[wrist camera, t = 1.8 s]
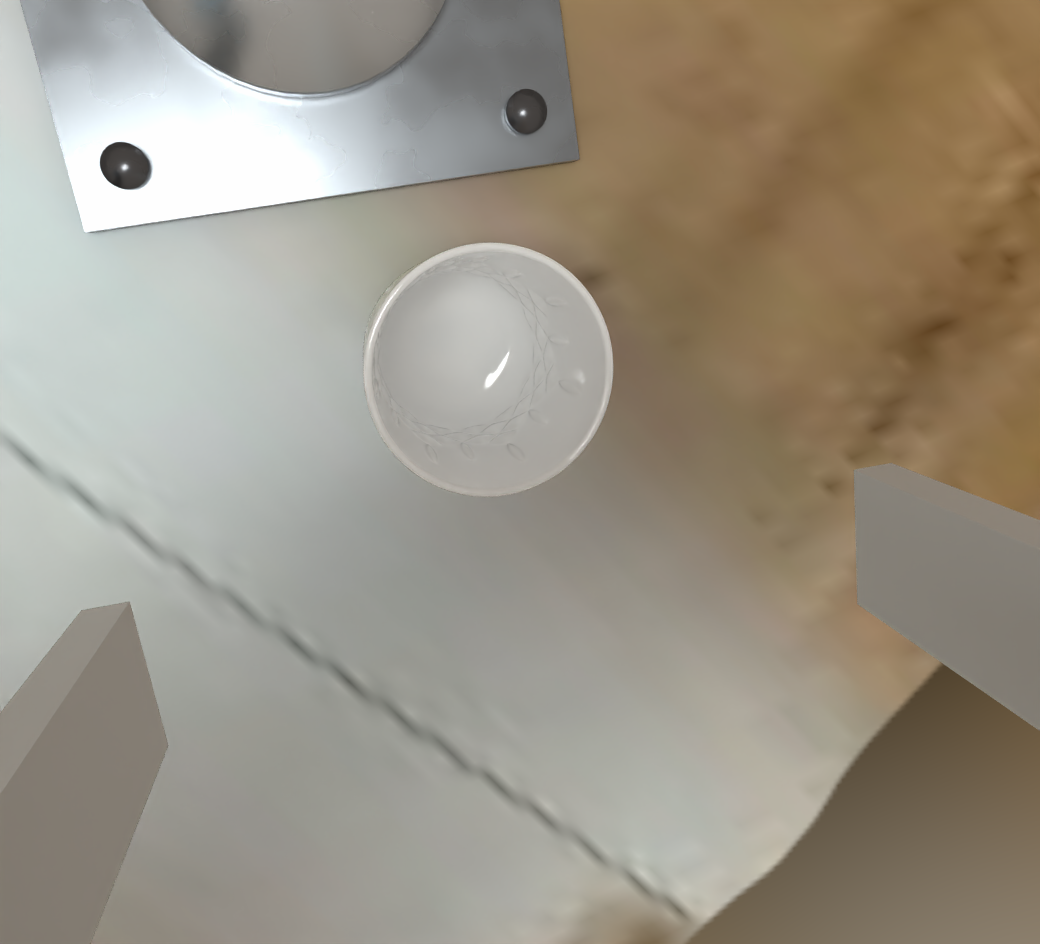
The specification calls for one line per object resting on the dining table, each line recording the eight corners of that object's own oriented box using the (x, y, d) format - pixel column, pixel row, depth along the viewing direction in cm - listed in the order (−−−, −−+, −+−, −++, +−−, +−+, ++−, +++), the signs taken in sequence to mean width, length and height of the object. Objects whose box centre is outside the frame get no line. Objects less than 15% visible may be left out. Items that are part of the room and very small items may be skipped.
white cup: (331, 268, 34) (335, 270, 25) (520, 232, 36) (592, 220, 26) (376, 456, 36) (395, 523, 27) (552, 415, 38) (630, 465, 28)
